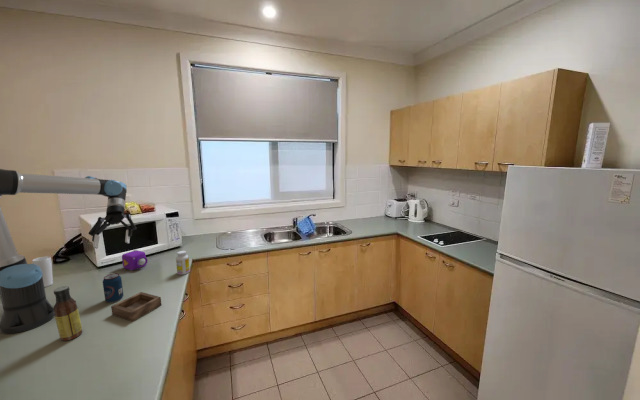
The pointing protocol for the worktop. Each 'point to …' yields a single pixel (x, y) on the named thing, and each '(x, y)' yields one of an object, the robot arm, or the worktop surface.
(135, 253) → the toy camera
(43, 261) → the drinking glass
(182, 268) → the supplement bottle
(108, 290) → the soda can
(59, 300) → the sauce bottle
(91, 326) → the worktop surface
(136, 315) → the brown wooden shallow tray
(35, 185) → the robot arm
